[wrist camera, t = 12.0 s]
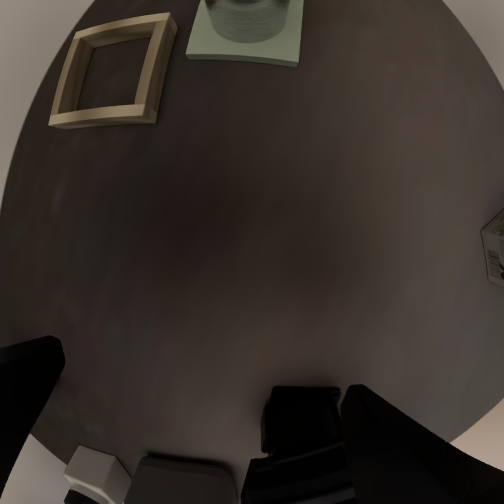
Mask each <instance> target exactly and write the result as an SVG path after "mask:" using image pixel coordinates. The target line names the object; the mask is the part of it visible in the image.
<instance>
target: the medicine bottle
mask: <svg viewBox="0 0 504 504" xmlns="http://www.w3.org/2000/svg"><path fill="white" fill-rule="evenodd" d="M63 475H64V476H65V477H66V478H67V479H68V481H70V482H71V483H72V485H73V486H71V488H70V489H69V491H68V494H67V496H66V498H65V500H64V502H65V504H122V503H123V500H124V498H125V495H126V492H127V489H128V487H129V484H130V481H131V477H130V476H129V474H128V473H127V472H126V470H125V469H124V467H123V466H122V465H121V463H120V462H119V460H118V459H117V457H116V456H113V455H109V454H106V453H102V452H99V451H96V450H93V449H90V448H87V447H84V446H82V445H79V446H78V448H77V450H76V451H75V453H74V455H73V457H72V458H71V460H70V462H69V464H68V466H67V467H66V469H65V471H64V473H63Z"/></svg>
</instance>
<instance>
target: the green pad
mask: <svg viewBox="0 0 504 504" xmlns="http://www.w3.org/2000/svg"><path fill="white" fill-rule="evenodd" d="M303 1H304V0H290V3H289V8H288V13H287V18H286V23H285V26H284V27H283V29H282V30H281V32H279V33H278V34H277V35H276V36H274V37H272V38H271V39H268V40H266V41H262V42H258V43H237V42H233V41H229V40H227V39H225V38H223V37H221V36H220V35H218V34H217V33H216V32H215V31H214V29H213V27H212V25H211V21H210V18H209V14H208V11H207V7H206V4H205V0H201V2H200V5H199V8H198V11H197V14H196V18H195V21H194V25H193V28H192V32H191V35H190V39H189V43H188V47H187V51H186V56H187V58H188V59H189V60H232V61H247V62H258V63H267V64H275V65H282V66H289V67H295V68H296V67H297V65H298V61H299V50H300V39H301V27H302V14H303Z"/></svg>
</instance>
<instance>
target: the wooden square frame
mask: <svg viewBox="0 0 504 504" xmlns="http://www.w3.org/2000/svg"><path fill="white" fill-rule="evenodd" d="M177 29H178V27H177V25H176V23H175V22H174V20H173V18H172V16H171V14H170V13H161V14H153V15H146V16H140V17H135V18H129V19H124V20H120V21H115V22H111V23H107V24H103V25H99V26H96V27H92V28H89V29H85V30H82V31H79V32H76V34H75V36H74V39H73V41H72V44H71V47H70V49H69V52H68V55H67V58H66V61H65V64H64V67H63V70H62V73H61V76H60V80H59V83H58V87H57V91H56V94H55V98H54V103H53V107H52V111H51V116H50V121H49V126H54V127H58V128H62V129H74V128H83V127H93V126H104V125H119V124H145V123H156V118H157V113H158V107H159V102H160V97H161V92H162V87H163V83H164V78H165V74H166V70H167V66H168V62H169V58H170V54H171V50H172V46H173V43H174V39H175V36H176V32H177ZM150 37H152V38H151V41H150V44H149V47H148V51H147V54H146V58H145V61H144V65H143V69H142V73H141V77H140V81H139V85H138V89H137V94H136V98H135V103H134V105H123V106H112V107H102V108H94V109H87V110H80V111H76V110H77V105H78V101H79V96H80V92H81V88H82V85H83V81H84V77H85V74H86V70H87V67H88V64H89V61H90V58H91V55H92V52H93V49H94V48H95V47H99V46H104V45H108V44H113V43H118V42H124V41H129V40H136V39H143V38H150Z"/></svg>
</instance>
